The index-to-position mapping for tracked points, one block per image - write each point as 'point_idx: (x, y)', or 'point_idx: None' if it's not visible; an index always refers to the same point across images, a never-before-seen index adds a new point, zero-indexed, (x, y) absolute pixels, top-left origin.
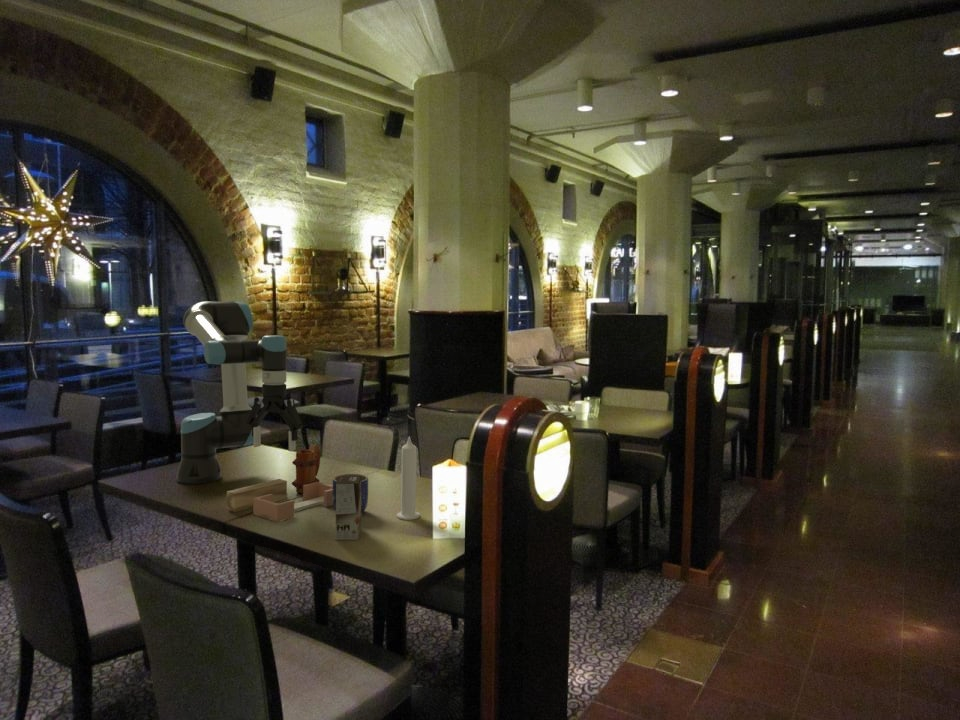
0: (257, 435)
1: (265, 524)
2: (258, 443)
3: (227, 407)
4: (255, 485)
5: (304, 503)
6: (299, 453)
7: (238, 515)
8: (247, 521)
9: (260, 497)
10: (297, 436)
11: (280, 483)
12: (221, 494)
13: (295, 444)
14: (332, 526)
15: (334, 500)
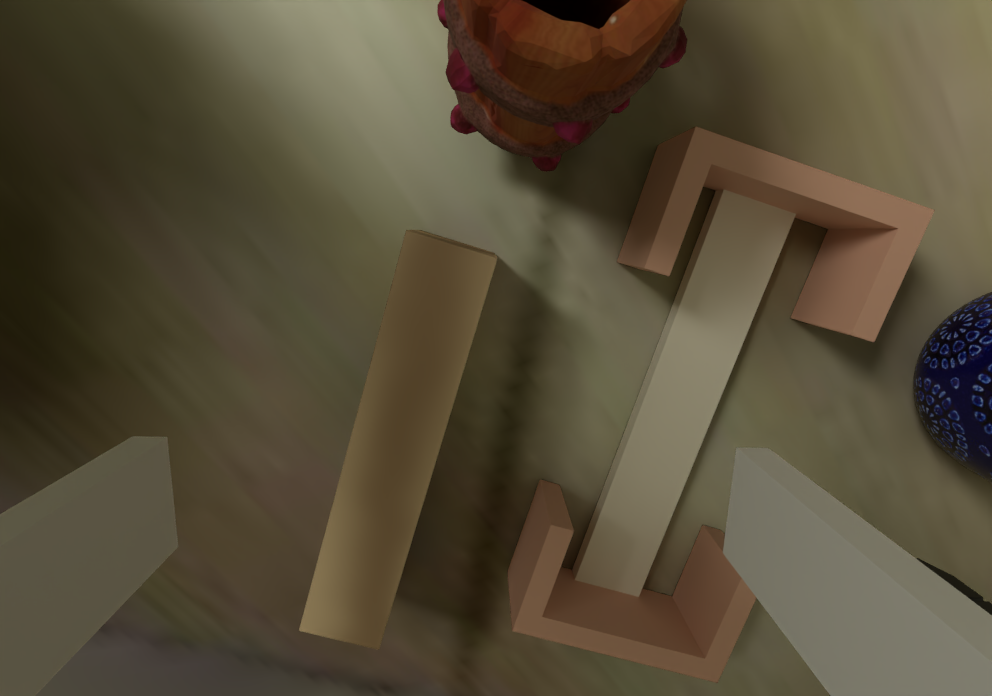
0: (48, 616)
1: None
2: (146, 505)
3: None
4: (368, 453)
5: (692, 369)
6: (561, 64)
7: (450, 611)
8: (548, 660)
9: (541, 605)
10: (989, 602)
11: (479, 314)
12: (81, 349)
13: (813, 487)
14: (959, 574)
15: (989, 481)
